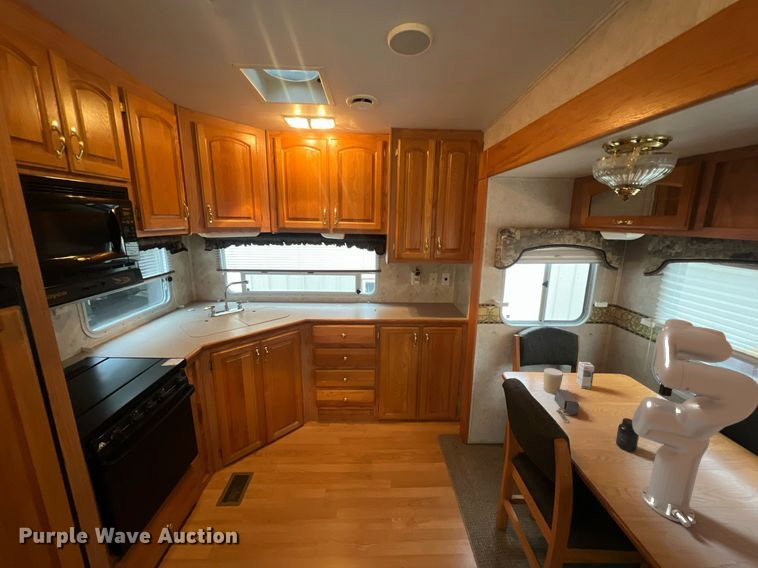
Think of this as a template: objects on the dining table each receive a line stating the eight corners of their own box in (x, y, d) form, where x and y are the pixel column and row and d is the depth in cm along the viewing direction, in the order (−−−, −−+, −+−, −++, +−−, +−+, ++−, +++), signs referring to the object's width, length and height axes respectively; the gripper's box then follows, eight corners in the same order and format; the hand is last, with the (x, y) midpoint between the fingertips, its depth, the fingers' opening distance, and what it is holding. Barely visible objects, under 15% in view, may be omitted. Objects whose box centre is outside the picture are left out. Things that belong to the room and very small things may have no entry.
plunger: (577, 414, 142) (579, 404, 141) (559, 412, 144) (560, 402, 143) (567, 402, 153) (569, 392, 152) (550, 400, 154) (551, 390, 153)
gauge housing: (584, 424, 136) (586, 412, 135) (563, 422, 138) (564, 410, 137) (566, 401, 155) (567, 390, 154) (547, 399, 157) (549, 388, 156)
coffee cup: (564, 395, 161) (566, 375, 159) (547, 395, 161) (550, 375, 159) (554, 386, 170) (556, 367, 168) (538, 386, 170) (540, 367, 168)
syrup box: (580, 388, 168) (584, 365, 165) (575, 383, 174) (578, 361, 171) (591, 389, 167) (595, 366, 164) (586, 384, 173) (589, 361, 170)
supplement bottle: (640, 453, 118) (645, 428, 116) (621, 451, 120) (626, 425, 118) (629, 442, 125) (634, 417, 123) (611, 439, 126) (616, 415, 124)
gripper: (702, 360, 102) (692, 407, 105) (669, 344, 116) (661, 386, 120) (677, 358, 103) (668, 404, 107) (648, 343, 118) (640, 384, 121)
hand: (664, 394), depth 113 cm, fingers closed
